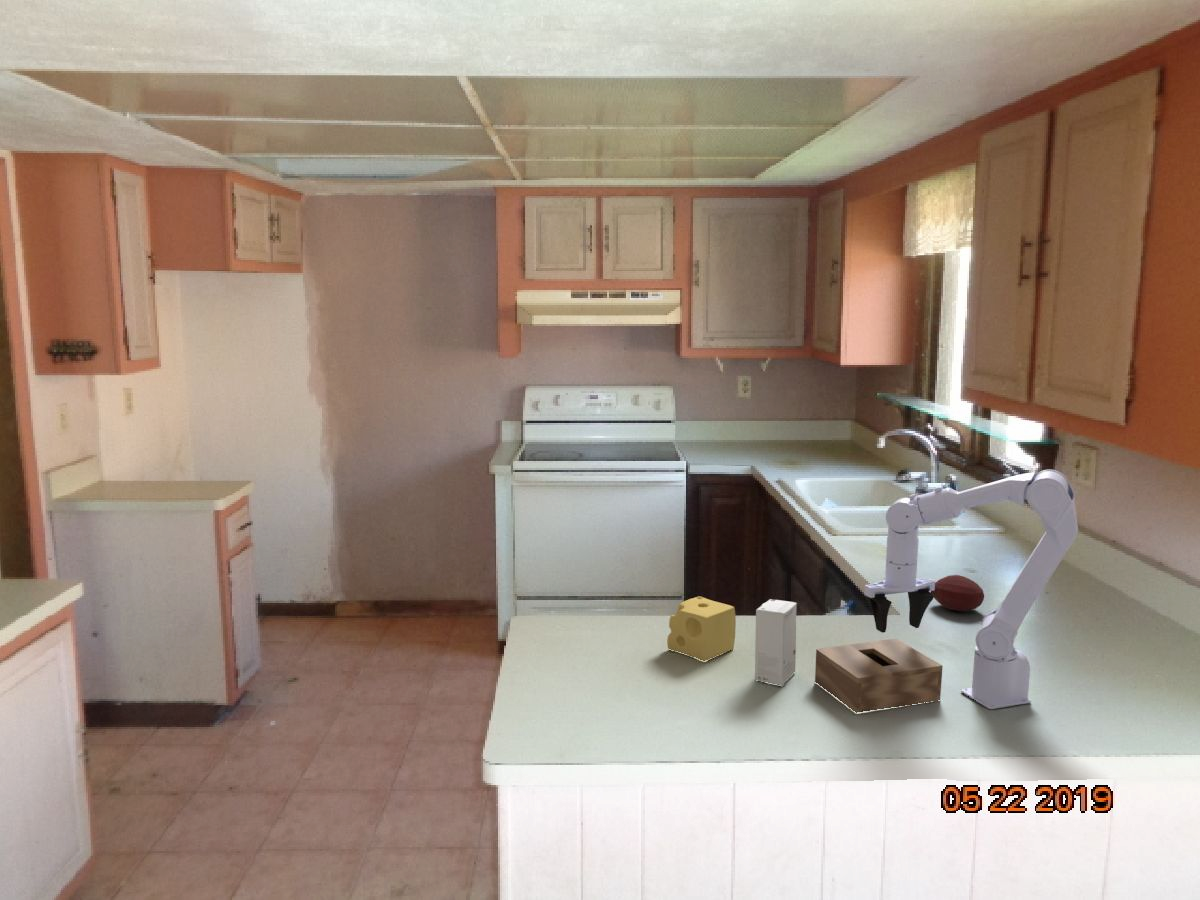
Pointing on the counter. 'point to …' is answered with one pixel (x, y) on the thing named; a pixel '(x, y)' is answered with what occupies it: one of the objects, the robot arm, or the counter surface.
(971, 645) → the counter surface
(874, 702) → the coin box
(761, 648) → the skincare box
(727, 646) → the cheese
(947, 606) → the american football
